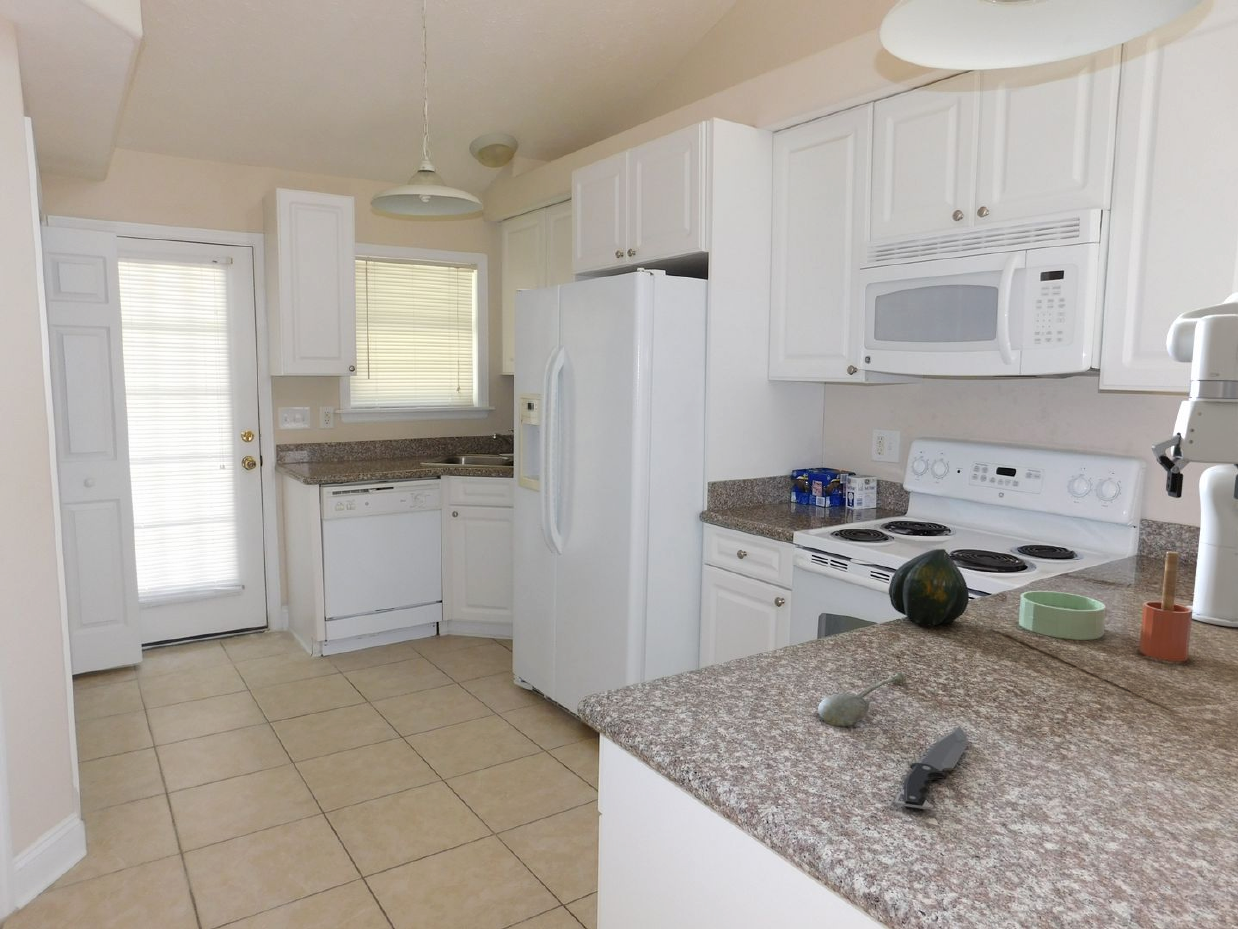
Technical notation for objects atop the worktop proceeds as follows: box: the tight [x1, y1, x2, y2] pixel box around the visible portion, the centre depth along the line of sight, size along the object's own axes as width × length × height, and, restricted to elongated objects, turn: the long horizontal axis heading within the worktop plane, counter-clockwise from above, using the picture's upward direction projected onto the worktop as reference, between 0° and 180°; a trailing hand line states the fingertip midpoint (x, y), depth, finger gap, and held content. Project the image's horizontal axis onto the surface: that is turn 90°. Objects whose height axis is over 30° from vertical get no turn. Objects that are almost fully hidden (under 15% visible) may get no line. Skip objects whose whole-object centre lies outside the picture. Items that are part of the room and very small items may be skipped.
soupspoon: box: [817, 672, 906, 727], centre depth 117 cm, size 22×3×7 cm
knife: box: [894, 725, 968, 811], centre depth 98 cm, size 26×1×5 cm
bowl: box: [1017, 590, 1107, 641], centre depth 154 cm, size 14×14×6 cm
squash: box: [888, 548, 970, 626], centre depth 159 cm, size 14×15×15 cm
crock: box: [1138, 600, 1193, 662], centre depth 140 cm, size 7×7×9 cm
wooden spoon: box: [1161, 550, 1180, 612], centre depth 140 cm, size 3×2×18 cm, turn 13°
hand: (1207, 498), depth 132 cm, fingers open, 9 cm apart
